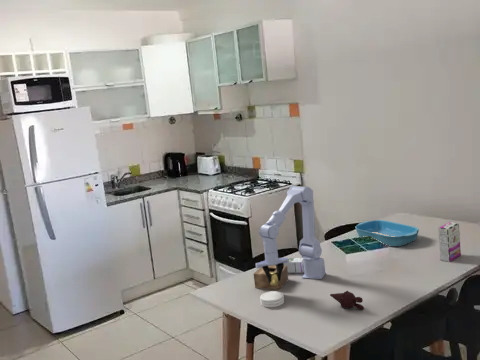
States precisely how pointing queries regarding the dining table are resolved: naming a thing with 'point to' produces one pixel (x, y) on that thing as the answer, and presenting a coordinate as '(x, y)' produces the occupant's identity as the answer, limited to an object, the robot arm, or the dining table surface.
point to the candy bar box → (449, 241)
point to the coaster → (272, 299)
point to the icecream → (348, 300)
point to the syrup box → (295, 265)
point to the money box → (262, 279)
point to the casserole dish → (388, 232)
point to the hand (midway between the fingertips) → (274, 280)
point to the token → (274, 278)
